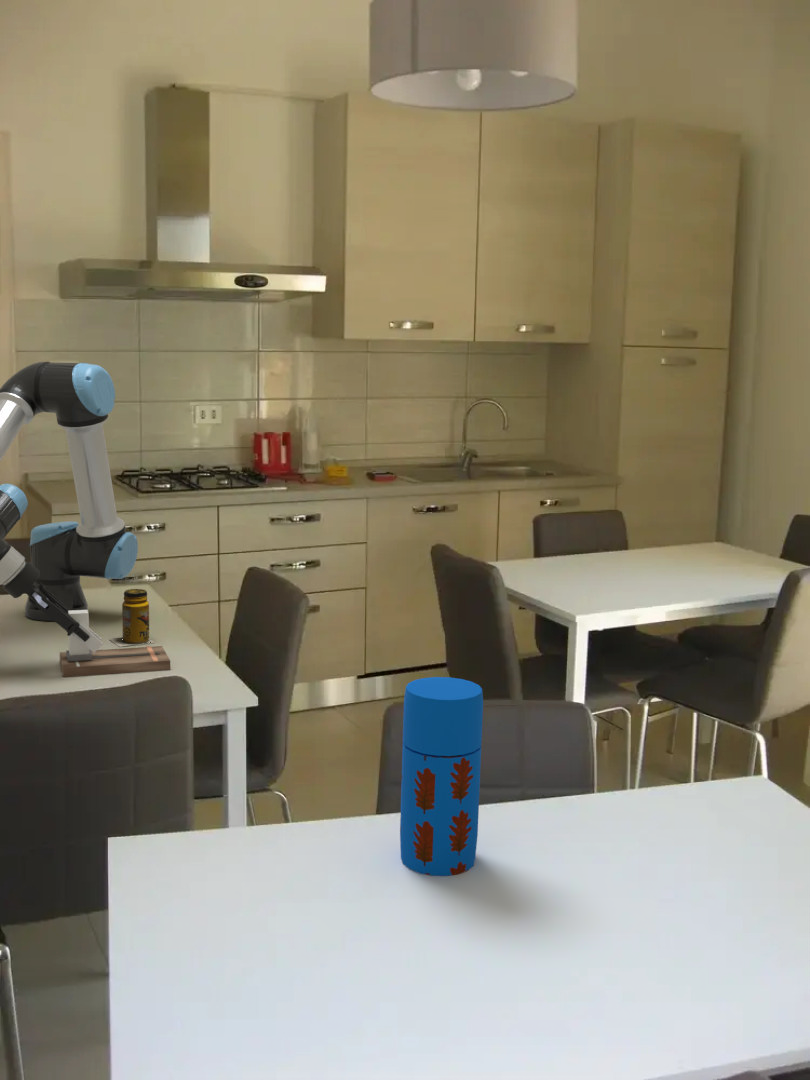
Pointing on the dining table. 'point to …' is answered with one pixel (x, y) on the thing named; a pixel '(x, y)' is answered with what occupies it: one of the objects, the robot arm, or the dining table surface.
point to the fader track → (117, 661)
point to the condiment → (134, 619)
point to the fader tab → (75, 646)
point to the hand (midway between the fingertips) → (97, 645)
